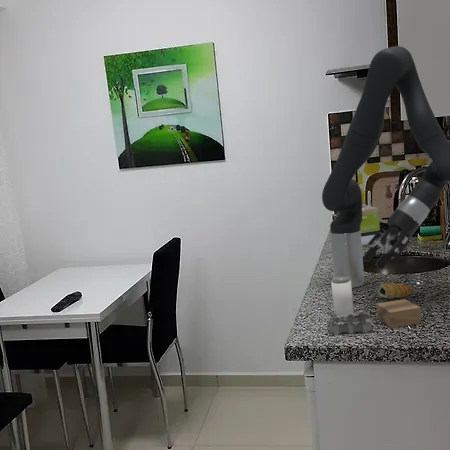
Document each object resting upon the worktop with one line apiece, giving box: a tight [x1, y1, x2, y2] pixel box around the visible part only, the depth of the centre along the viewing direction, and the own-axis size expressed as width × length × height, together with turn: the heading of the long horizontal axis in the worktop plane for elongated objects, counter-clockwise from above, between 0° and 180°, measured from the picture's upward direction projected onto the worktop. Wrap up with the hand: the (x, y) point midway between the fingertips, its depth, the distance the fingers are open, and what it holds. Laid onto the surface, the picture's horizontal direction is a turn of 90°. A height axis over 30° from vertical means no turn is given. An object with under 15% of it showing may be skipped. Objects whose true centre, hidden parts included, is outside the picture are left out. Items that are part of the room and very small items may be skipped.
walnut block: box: [376, 298, 422, 329], centre depth 148 cm, size 8×8×4 cm
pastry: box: [377, 282, 413, 300], centre depth 170 cm, size 9×7×4 cm
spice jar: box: [330, 275, 355, 317], centre depth 158 cm, size 5×5×10 cm
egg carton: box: [327, 309, 373, 335], centre depth 146 cm, size 11×8×4 cm
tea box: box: [360, 203, 381, 246], centre depth 248 cm, size 15×10×15 cm, turn 10°
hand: (371, 264), depth 158 cm, fingers open, 8 cm apart
